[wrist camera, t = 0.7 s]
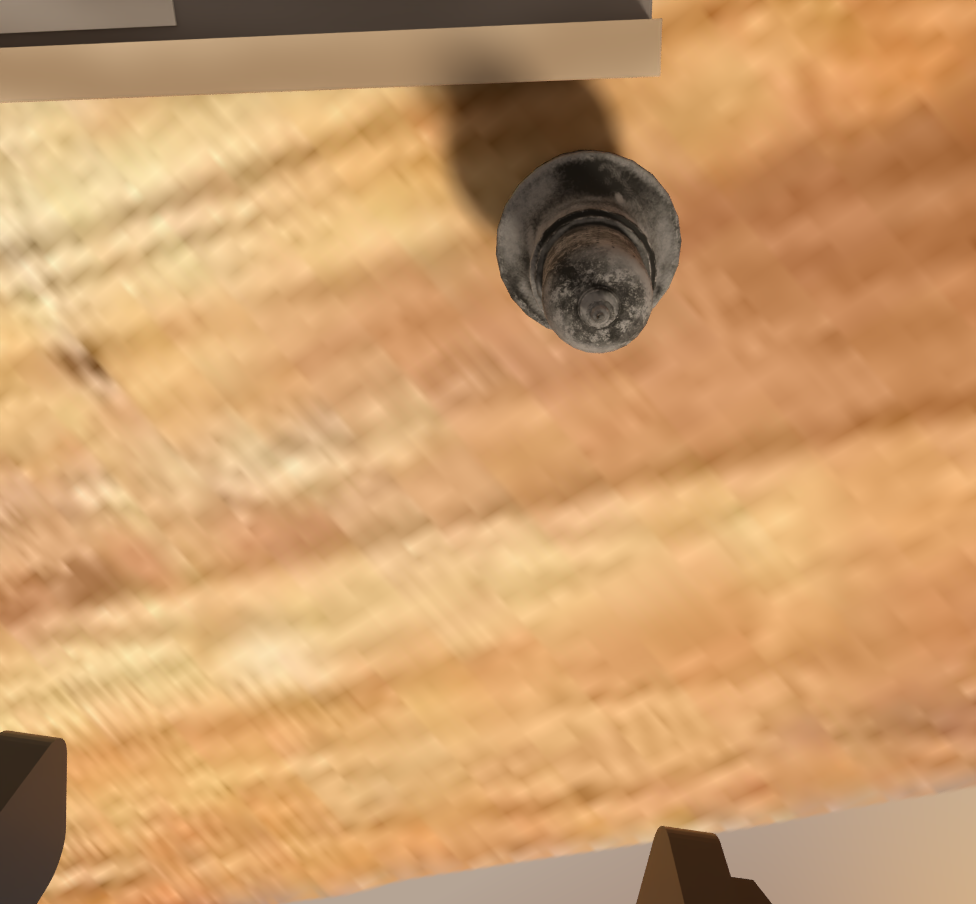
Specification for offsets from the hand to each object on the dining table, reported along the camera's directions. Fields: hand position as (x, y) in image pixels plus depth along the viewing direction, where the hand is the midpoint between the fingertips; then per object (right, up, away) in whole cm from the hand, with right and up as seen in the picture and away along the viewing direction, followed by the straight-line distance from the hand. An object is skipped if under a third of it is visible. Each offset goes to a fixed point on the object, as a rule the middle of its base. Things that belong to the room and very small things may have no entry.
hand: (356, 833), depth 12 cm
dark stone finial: (+5, +13, +20) cm, 25 cm away
